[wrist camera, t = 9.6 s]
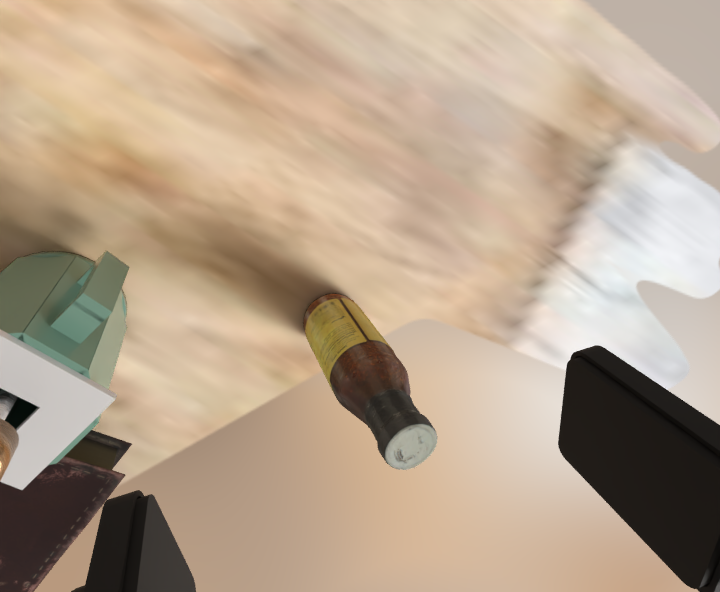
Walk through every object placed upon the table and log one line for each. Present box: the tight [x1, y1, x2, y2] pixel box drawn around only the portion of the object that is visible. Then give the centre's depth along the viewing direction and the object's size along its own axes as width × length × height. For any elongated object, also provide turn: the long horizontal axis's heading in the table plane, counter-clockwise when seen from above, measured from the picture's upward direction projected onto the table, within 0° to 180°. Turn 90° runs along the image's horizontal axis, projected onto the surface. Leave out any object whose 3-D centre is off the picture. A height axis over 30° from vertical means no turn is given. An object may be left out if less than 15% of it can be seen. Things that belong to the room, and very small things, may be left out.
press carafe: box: [0, 250, 129, 490], centre depth 33 cm, size 10×13×14 cm
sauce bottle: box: [303, 294, 437, 470], centre depth 39 cm, size 6×6×20 cm
